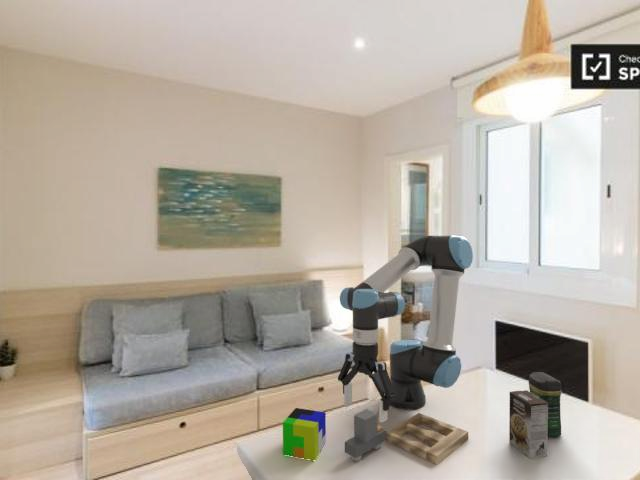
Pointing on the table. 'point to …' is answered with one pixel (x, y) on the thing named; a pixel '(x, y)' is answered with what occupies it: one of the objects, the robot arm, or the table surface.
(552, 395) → the coffee jar
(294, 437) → the puzzle toy
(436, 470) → the table surface
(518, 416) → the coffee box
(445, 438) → the keyhole board
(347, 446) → the grey stepped block
